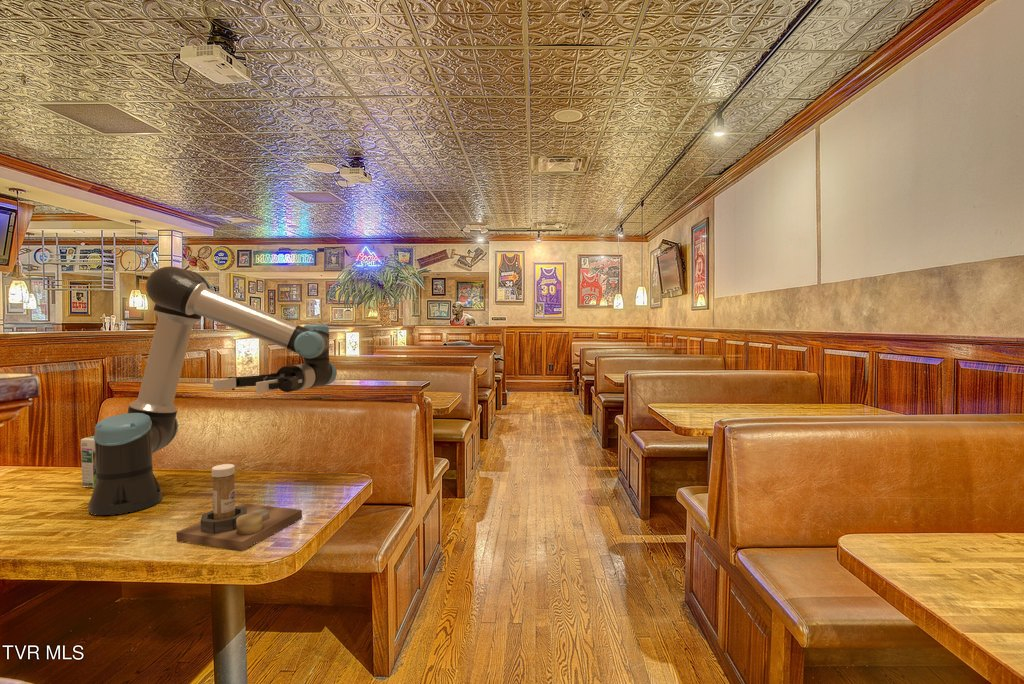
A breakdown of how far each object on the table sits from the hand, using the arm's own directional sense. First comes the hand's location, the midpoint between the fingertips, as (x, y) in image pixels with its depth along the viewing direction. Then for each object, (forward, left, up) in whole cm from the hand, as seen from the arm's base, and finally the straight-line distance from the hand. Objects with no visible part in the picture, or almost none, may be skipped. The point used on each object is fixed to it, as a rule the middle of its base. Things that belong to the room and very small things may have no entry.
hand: (235, 386), depth 124 cm
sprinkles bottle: (+8, -12, -30) cm, 33 cm away
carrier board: (+10, -9, -32) cm, 34 cm away
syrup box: (-57, +5, -32) cm, 66 cm away
